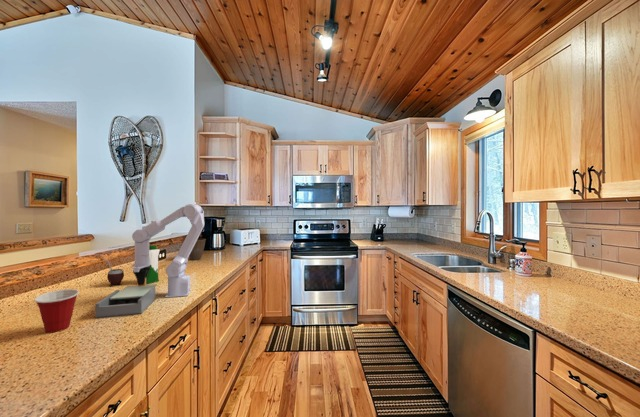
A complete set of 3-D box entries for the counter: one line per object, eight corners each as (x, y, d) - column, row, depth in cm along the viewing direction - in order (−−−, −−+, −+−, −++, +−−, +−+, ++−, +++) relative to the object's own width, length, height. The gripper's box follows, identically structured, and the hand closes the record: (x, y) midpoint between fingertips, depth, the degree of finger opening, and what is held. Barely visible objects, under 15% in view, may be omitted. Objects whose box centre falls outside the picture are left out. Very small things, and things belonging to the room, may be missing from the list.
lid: (156, 285, 125) (156, 276, 125) (144, 297, 109) (144, 287, 109) (127, 287, 122) (127, 278, 122) (109, 299, 106) (109, 289, 106)
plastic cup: (26, 339, 82) (26, 301, 82) (43, 325, 91) (43, 291, 91) (72, 332, 87) (72, 296, 87) (83, 320, 96) (83, 287, 96)
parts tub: (155, 299, 118) (155, 287, 118) (141, 314, 102) (141, 300, 102) (116, 302, 114) (116, 290, 114) (95, 318, 98) (95, 303, 98)
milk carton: (161, 280, 148) (161, 245, 148) (145, 285, 140) (145, 247, 140) (150, 279, 151) (150, 244, 151) (134, 283, 143) (134, 246, 143)
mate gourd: (127, 283, 143) (127, 255, 143) (114, 287, 135) (114, 258, 135) (114, 282, 144) (114, 255, 144) (101, 287, 136) (101, 258, 136)
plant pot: (191, 262, 200) (191, 241, 200) (180, 259, 208) (181, 239, 208) (209, 259, 212) (209, 239, 212) (198, 257, 220) (198, 238, 220)
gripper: (138, 252, 129) (137, 280, 129) (125, 258, 115) (125, 289, 115) (154, 252, 131) (154, 279, 131) (144, 257, 117) (143, 288, 117)
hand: (141, 284), depth 123 cm, fingers closed on lid
